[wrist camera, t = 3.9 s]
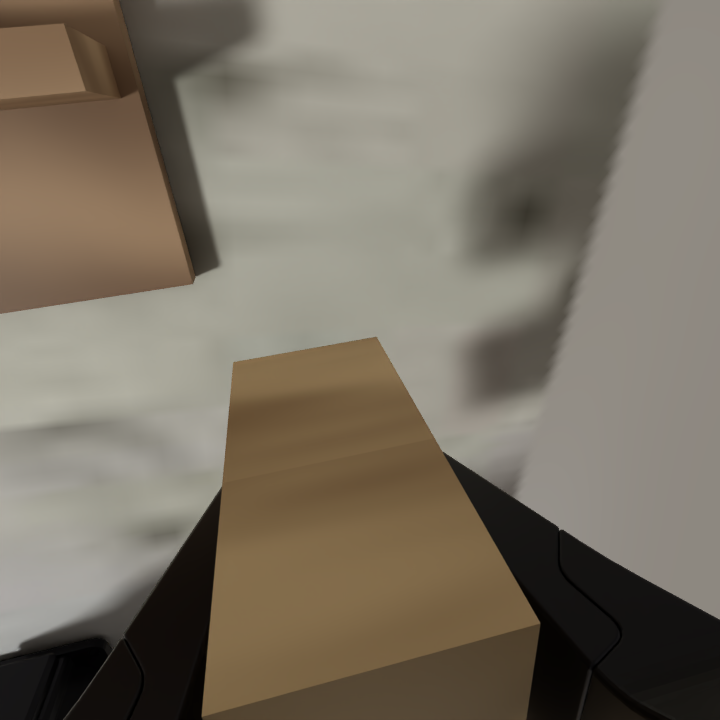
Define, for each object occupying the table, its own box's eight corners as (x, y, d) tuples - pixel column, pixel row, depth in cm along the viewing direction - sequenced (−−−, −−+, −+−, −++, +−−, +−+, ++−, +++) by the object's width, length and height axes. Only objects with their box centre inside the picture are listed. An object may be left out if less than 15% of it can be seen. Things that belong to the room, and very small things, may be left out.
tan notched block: (401, 621, 14) (494, 934, 9) (307, 646, 14) (342, 990, 8) (376, 336, 10) (540, 623, 4) (233, 362, 9) (202, 717, 4)
